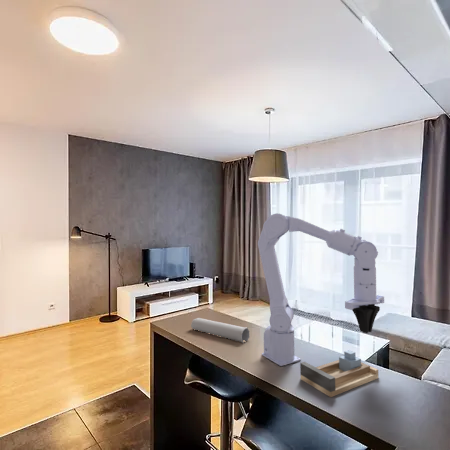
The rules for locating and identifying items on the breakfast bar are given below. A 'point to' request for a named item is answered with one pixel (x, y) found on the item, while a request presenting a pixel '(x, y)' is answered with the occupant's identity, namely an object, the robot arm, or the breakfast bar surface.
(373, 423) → the breakfast bar surface
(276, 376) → the breakfast bar surface
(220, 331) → the tube
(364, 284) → the robot arm
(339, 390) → the track
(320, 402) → the breakfast bar surface
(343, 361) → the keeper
